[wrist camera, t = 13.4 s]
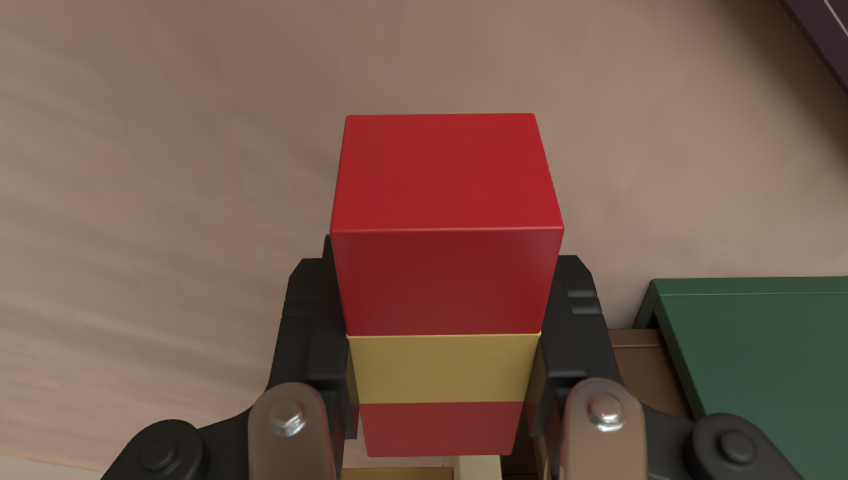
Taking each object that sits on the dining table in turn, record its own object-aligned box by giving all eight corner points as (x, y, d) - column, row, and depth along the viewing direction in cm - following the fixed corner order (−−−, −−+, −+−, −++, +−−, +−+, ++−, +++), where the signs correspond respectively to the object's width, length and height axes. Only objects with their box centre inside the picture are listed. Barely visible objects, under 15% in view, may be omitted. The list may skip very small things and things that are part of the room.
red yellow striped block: (499, 347, 16) (512, 456, 14) (372, 349, 16) (366, 459, 14) (536, 110, 10) (567, 229, 8) (344, 113, 10) (327, 232, 8)
